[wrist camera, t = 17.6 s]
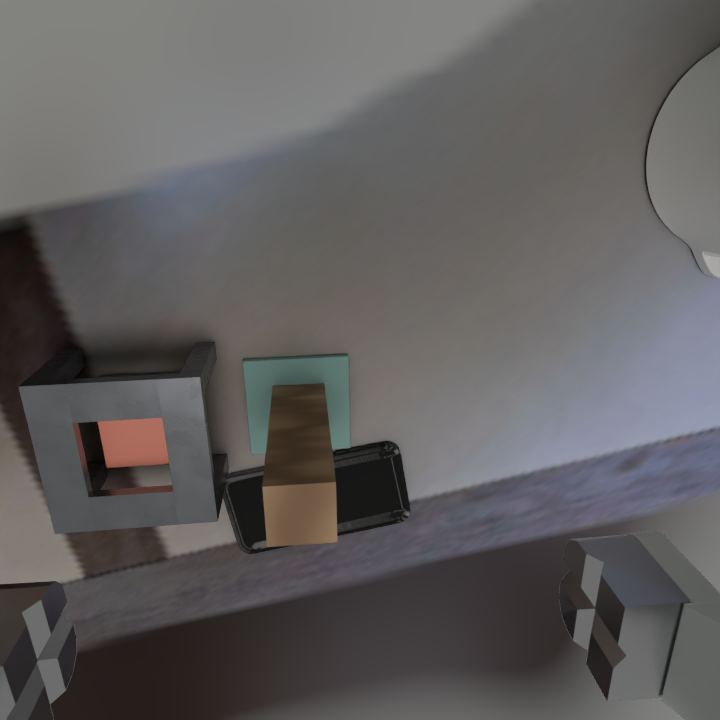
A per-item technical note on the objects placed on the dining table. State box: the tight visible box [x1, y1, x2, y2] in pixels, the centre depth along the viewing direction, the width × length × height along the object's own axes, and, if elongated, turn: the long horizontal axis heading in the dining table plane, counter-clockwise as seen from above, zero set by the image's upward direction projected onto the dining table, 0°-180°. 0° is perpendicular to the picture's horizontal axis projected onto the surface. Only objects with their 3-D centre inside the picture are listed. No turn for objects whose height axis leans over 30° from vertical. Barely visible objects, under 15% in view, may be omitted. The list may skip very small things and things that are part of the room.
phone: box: [223, 441, 410, 554], centre depth 48 cm, size 8×1×15 cm
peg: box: [262, 383, 337, 547], centre depth 38 cm, size 4×4×14 cm
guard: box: [19, 342, 229, 534], centre depth 41 cm, size 11×11×7 cm
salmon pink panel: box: [98, 418, 169, 468], centre depth 42 cm, size 5×5×2 cm
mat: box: [243, 354, 351, 454], centre depth 45 cm, size 8×8×1 cm
